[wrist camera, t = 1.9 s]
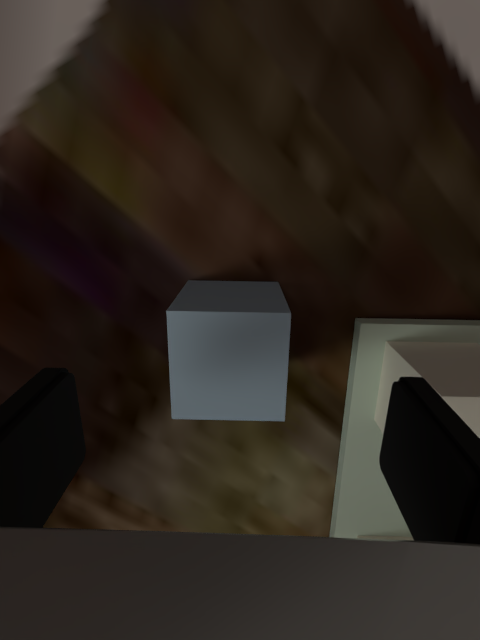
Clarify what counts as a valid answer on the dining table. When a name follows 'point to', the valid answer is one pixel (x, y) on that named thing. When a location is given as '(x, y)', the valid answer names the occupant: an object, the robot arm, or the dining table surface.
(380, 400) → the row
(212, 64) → the dining table surface
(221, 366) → the block
